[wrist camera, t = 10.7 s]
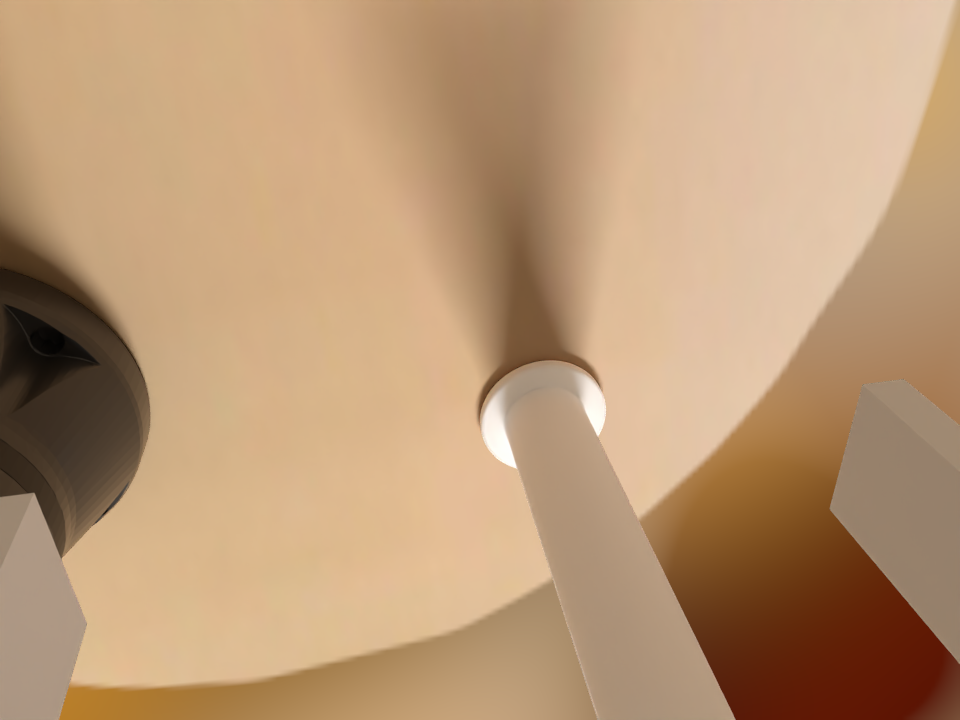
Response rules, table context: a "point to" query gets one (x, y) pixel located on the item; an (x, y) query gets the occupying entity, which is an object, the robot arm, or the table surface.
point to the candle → (598, 549)
